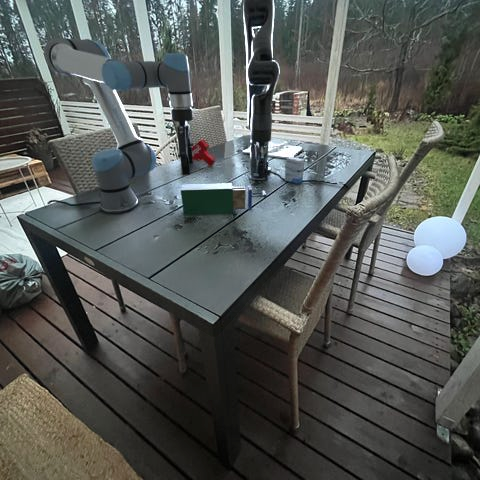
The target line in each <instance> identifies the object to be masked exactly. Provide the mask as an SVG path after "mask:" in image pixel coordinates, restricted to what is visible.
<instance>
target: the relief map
mask: <svg viewBox="0 0 480 480" xmlns="http://www.w3.org/2000/svg"><path fill="white" fill-rule="evenodd" d="M302 147H303V146H294V145H292V144H290V143H289V142H288V141H284V142H282V143H280V144H279V143H278V142H276V141H273V140H272V139H271V140H270V141H269V145H268V157H271V158H277V159H285V160H286V159H287V158H289V157H296V156H297V155H298V154H299V153H300V152H302V151H303V150H304V148H303V149H302ZM250 148H251V145H250V146H249V147H248V148H247V149H245V150H242V153H243V154H247V155H248V154H249V155H250ZM296 153H297V154H296Z"/></svg>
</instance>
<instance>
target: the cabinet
mask: <svg viewBox="0 0 480 480" xmlns="http://www.w3.org/2000/svg"><path fill="white" fill-rule="evenodd" d="M233 187H234V186H233V183H232V182H226V183H225V182H223V183H222V182H221V183H219V182H218V183H189V184H188V183H187V184H182V185H181V188H180V197H181V205H182V211H183V216H197V215H198V216H202V215H203V216H205V215H228V214H230V215H231V214H232V215H233V214H234V209H233Z"/></svg>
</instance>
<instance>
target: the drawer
mask: <svg viewBox="0 0 480 480" xmlns="http://www.w3.org/2000/svg"><path fill="white" fill-rule="evenodd" d="M246 197H247V208H248V211H253V198H259V197H260V198H261V197H262V198H264V199H266V198H267V192H266V191H265V190H262V191H253V188H252V185H251V184H249V185H247V196H246V186H233V210H246Z"/></svg>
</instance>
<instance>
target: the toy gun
mask: <svg viewBox="0 0 480 480" xmlns="http://www.w3.org/2000/svg"><path fill="white" fill-rule="evenodd" d="M191 147H192V156H193V162H194V161H195V160H196V162H200V161H204V162H205V163H206V164H207V165H208V167H210V166H212V165H214V164H215V163H216V162H215V161H216V158H215V156H213V155H212V154H210V153H209V152H208V149H209V148H210V145H209V144H208V142H207V141H206V140H205V139H204V138H202V139H200V140H198V141H197V142H196V143H195V144H193V146H191Z"/></svg>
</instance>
